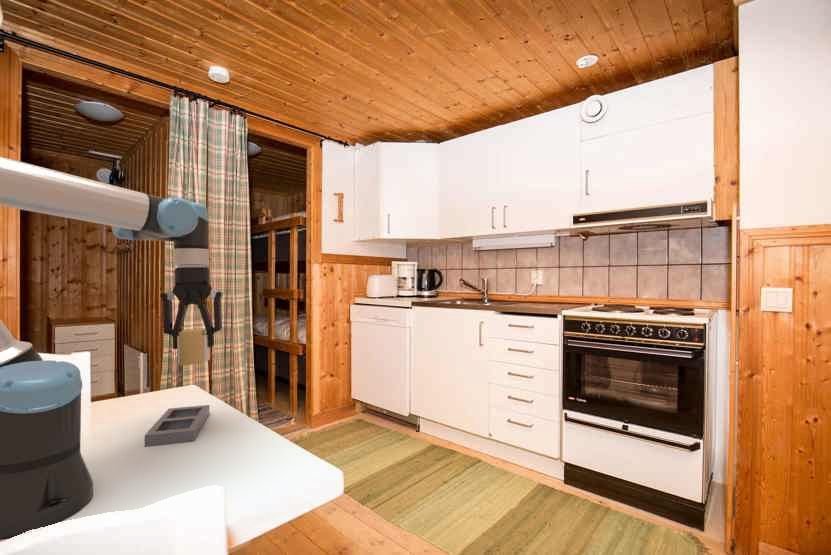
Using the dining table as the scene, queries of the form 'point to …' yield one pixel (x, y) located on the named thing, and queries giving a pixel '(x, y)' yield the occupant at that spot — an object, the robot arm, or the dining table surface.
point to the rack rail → (177, 425)
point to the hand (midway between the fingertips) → (194, 361)
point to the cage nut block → (191, 346)
